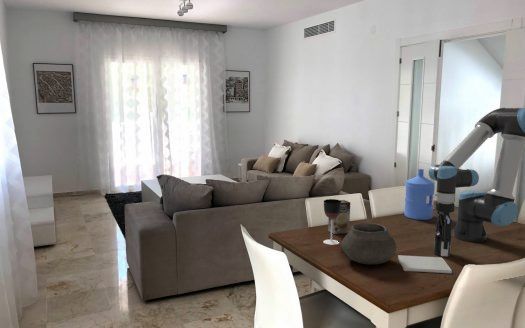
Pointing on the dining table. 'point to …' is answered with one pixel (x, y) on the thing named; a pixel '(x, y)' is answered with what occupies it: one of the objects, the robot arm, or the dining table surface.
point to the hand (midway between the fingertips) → (441, 252)
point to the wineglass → (332, 215)
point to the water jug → (419, 197)
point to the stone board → (424, 264)
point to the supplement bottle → (439, 242)
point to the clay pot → (369, 244)
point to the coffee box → (341, 219)
